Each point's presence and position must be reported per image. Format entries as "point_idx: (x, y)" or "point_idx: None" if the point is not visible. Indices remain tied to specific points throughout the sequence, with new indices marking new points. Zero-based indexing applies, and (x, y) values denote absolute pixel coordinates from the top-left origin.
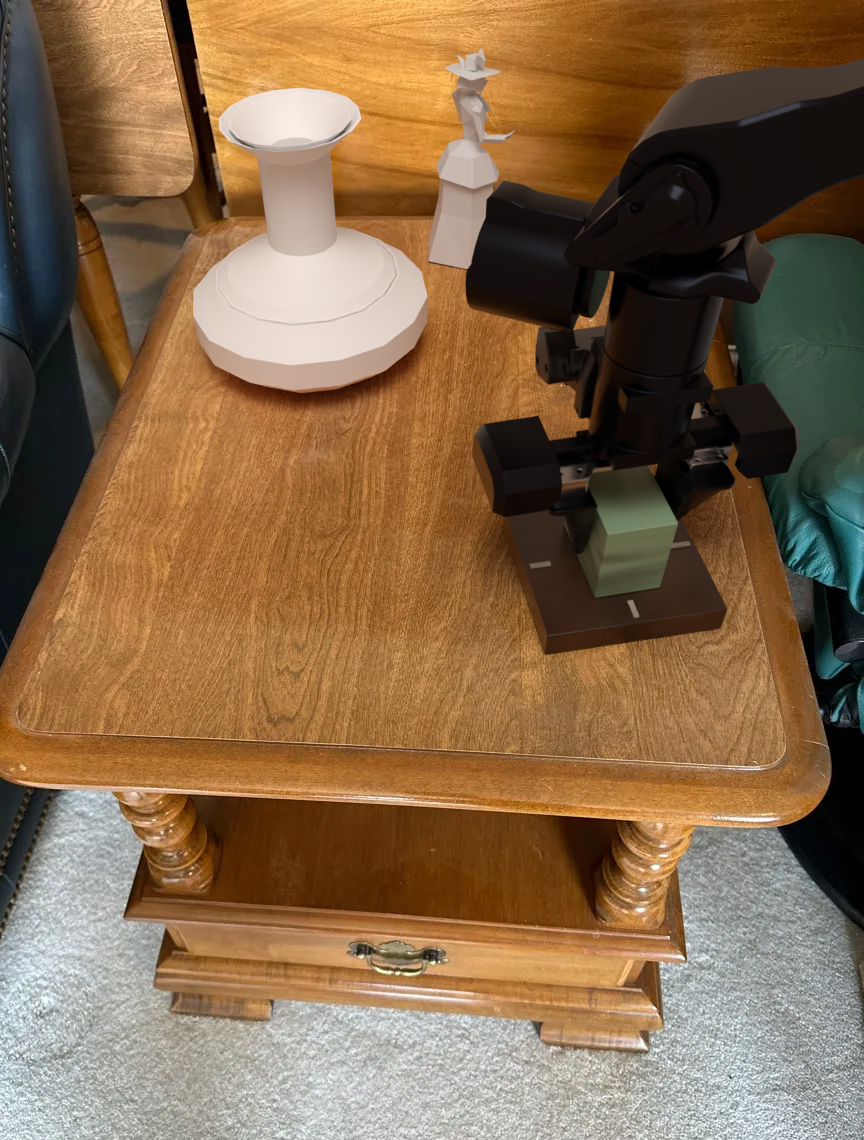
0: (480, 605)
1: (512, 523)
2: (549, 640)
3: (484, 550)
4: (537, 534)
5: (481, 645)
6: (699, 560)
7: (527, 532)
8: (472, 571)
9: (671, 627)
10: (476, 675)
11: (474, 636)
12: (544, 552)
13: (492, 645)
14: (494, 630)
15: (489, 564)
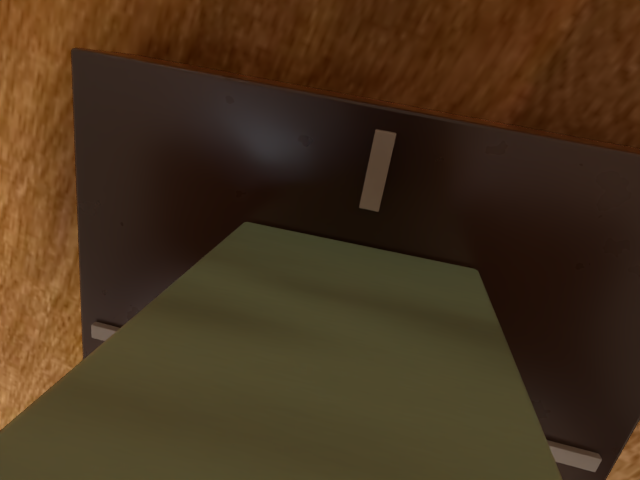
0: (31, 291)
1: (84, 140)
2: None
3: (67, 128)
4: (148, 223)
5: (20, 377)
6: None
7: (121, 200)
8: (27, 188)
9: None
10: (4, 425)
11: (10, 354)
12: (147, 299)
13: (40, 386)
14: (50, 359)
15: (71, 183)
